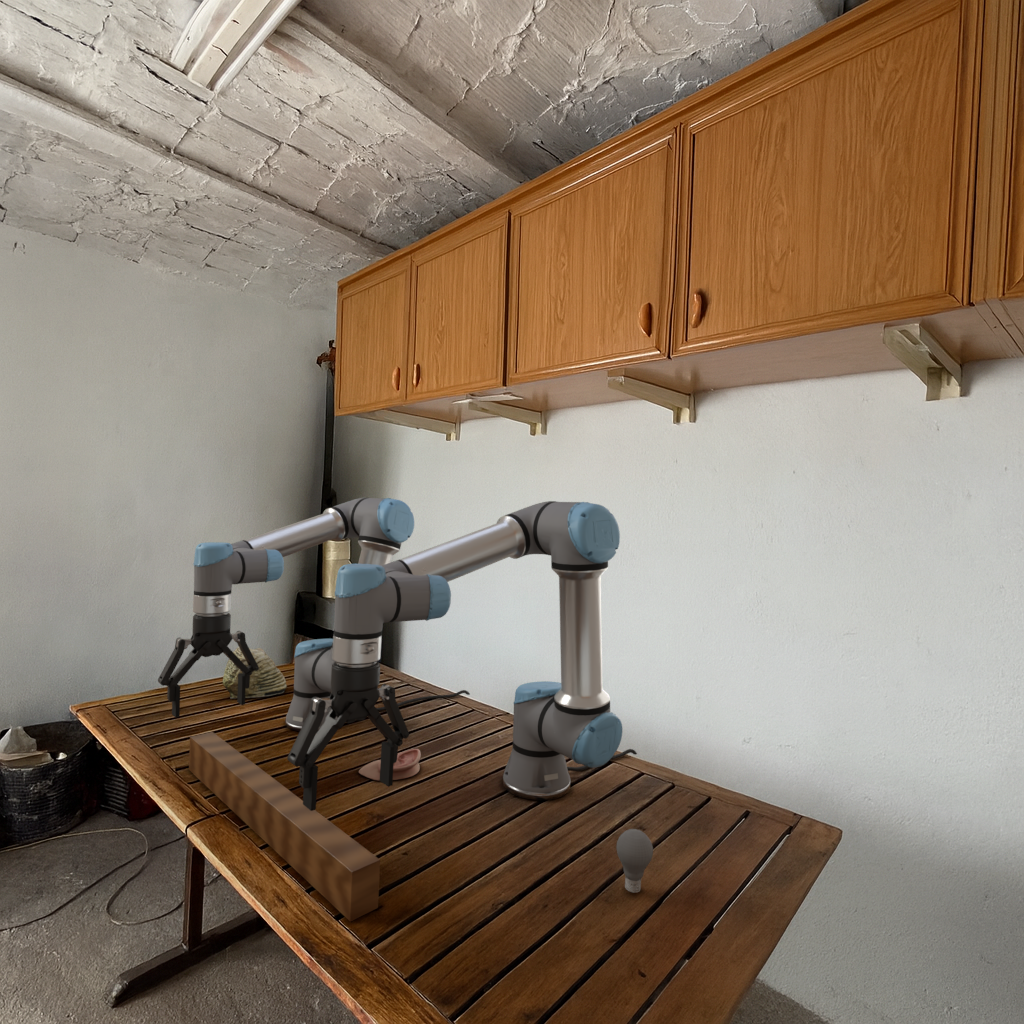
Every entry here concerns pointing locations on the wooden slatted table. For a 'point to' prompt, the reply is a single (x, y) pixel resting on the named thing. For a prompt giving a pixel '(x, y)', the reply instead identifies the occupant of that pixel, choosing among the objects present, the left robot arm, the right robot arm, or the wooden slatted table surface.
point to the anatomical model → (395, 766)
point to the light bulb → (634, 857)
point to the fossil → (255, 676)
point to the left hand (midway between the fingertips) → (209, 709)
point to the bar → (289, 827)
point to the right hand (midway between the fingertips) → (349, 794)
